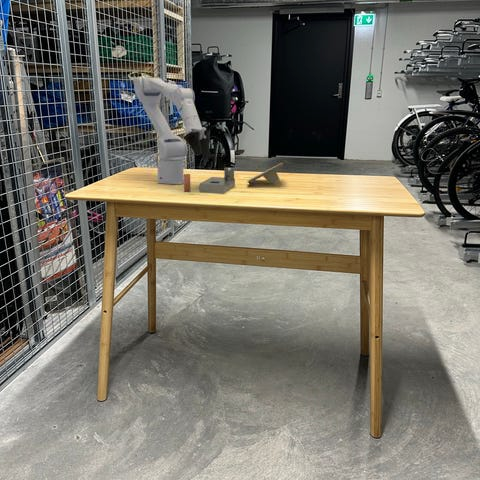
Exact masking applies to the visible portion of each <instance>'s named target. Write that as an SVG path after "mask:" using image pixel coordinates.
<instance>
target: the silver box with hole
mask: <svg viewBox="0 0 480 480" xmlns="http://www.w3.org/2000/svg"><path fill="white" fill-rule="evenodd" d="M223 172H224V173H223V174H224V177H221V176H219V177H218V176H211V177H209V178H207V179H205V180H204V181H201V182H200V183H199V184H198V185H199V186H198V189H199V190H198V191H199V193H209V194H220V195H221V194H225V193H227V192H229V191H230V190H232V189H233V188H234V187H236V178H235V168H234V167H224V171H223Z"/></svg>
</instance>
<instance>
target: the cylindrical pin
mask: <svg viewBox="0 0 480 480" xmlns="http://www.w3.org/2000/svg"><path fill="white" fill-rule="evenodd" d="M183 174H184V183H183V188H184V189H183V191H184V193H190V192H191V173H183Z"/></svg>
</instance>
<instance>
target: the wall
mask: <svg viewBox="0 0 480 480" xmlns="http://www.w3.org/2000/svg"><path fill="white" fill-rule="evenodd" d="M283 166H284V162H280V163H278V164H277V165H275V166H272V167H271V168H269V169H267V170H265V171H263V172H261V173H260V174H257V175H256V176H253V177H252V178H250V179H248V180H247V181H246V183H248V184H251V183H252V182H254V181H256V180H258V179H261V178H262V177H263V178H264V179H265V180H266V181H267V182H268V183H270V185H272V184H273V185H274V183H277V182H278V181H280V177H279V175H278V173H277V171H276V170H277V169H280V168H282V167H283Z"/></svg>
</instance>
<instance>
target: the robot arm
mask: <svg viewBox="0 0 480 480" xmlns="http://www.w3.org/2000/svg"><path fill="white" fill-rule="evenodd" d="M133 86H134V87H133V88H134V92H135V95H136V97H137V98H138V101H139V102H140V103H141V104H142V107H143V109H144V111H145V113H146V115H147V117H148V119H149V121H150V122H151V124H152V127H153V129H154V130H155V132H156V134H157V135H158V141H157V144H156V147H157V150H158V155H159V156H160V158H161V159H159V160H158V162H157V179H158V181H157V184H165V185H167V184H168V185H169V184H170V185H181V184H184V174H185V173H184V160H185V159H186V158H185V157H186V156H187V155H188V150H189V149H188V146H190V148H191V150H192V152H193V153H194V155H195V156H196V157H197V156H200V155H201V156H202V158H203V160H204V161H205V160H208V159H210V158H211V153H210V152H211V151H210V143H211V138H210V137H208V136H206V135H205V131H206V130H207V128H206V127H204V126H202V123H201V120H200V117H199V114H198V111H197V109H196V105H195V100H196V99H195V98H196V96H195V91H194V90H193V89H192V88H191V87H187V88H185V87H183V85H181V84H176V81H174V80H173V81H172V80H170V81H169V82H166V81H164V80H163V79H162V78H161V77H141V76H137V77H135V79H134V81H133ZM162 95H163V96H164V97H165V98H167V99H169V100H170V101H172V104H173V105H174V106H175V107H176V110H178V112H179V114H180V117H181V120H182V122H183V123H182V124H183V129H184V133H185V134H186V135H184V136H183V139H182V137H181V136H179V135H177V134H175V133H173V131H172V129H171V127H170V126H169V124H168V123H167V120H166V118H165V116H164V114H163V113H162V111H161V109H160V106H159V105H158V104H159V103H160V102H161V100H162ZM184 140H185V141H184ZM186 143H187V144H188V145H187V144H186Z"/></svg>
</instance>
